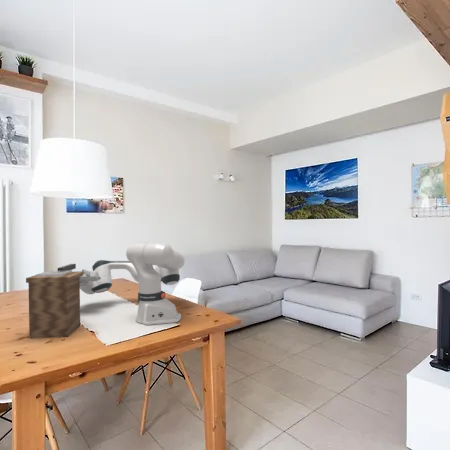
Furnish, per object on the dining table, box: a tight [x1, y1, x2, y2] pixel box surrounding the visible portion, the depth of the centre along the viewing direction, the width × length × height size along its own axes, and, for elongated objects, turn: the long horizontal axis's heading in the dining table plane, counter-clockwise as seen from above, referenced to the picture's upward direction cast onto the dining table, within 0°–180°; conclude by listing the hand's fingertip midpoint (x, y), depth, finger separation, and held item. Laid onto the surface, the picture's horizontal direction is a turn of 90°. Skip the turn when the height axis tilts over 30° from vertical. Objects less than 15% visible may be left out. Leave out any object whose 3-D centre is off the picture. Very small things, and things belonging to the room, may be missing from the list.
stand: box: [25, 270, 83, 339], centre depth 143 cm, size 18×16×26 cm
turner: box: [36, 263, 77, 277], centre depth 150 cm, size 11×25×2 cm, turn 4°
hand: (74, 271), depth 165 cm, fingers open, 8 cm apart
